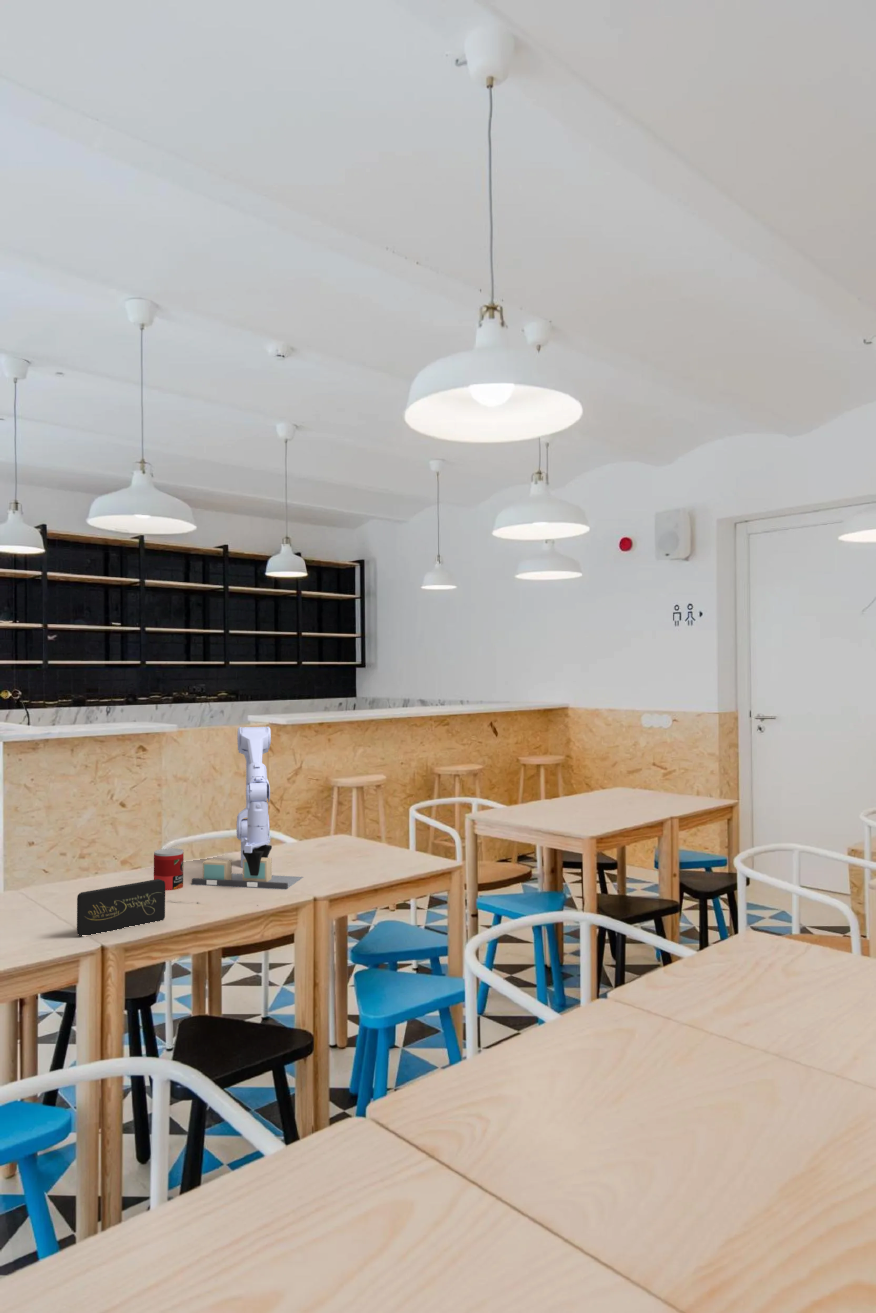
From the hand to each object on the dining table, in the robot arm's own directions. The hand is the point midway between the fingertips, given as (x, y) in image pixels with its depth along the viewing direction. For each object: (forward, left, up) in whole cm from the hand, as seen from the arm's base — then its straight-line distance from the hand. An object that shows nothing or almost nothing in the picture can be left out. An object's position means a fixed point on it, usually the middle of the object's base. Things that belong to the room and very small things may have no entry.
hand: (257, 873), depth 251 cm
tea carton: (0, 0, -2) cm, 2 cm away
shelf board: (-3, -4, -4) cm, 7 cm away
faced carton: (0, -12, -3) cm, 12 cm away
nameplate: (+42, -17, -4) cm, 46 cm away
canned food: (+8, -23, -4) cm, 25 cm away
